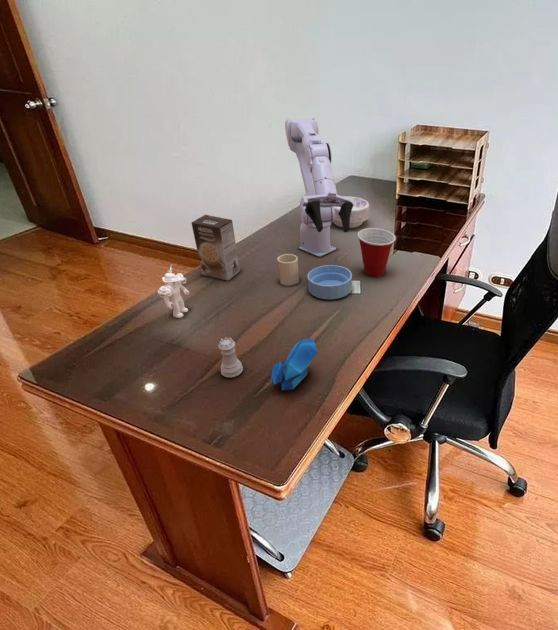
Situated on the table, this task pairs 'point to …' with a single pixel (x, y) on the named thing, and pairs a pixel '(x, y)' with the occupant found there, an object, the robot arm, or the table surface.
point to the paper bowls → (354, 212)
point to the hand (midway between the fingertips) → (334, 230)
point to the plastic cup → (375, 249)
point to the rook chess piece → (229, 359)
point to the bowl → (329, 282)
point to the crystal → (294, 365)
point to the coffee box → (216, 247)
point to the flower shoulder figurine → (174, 292)
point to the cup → (288, 269)
